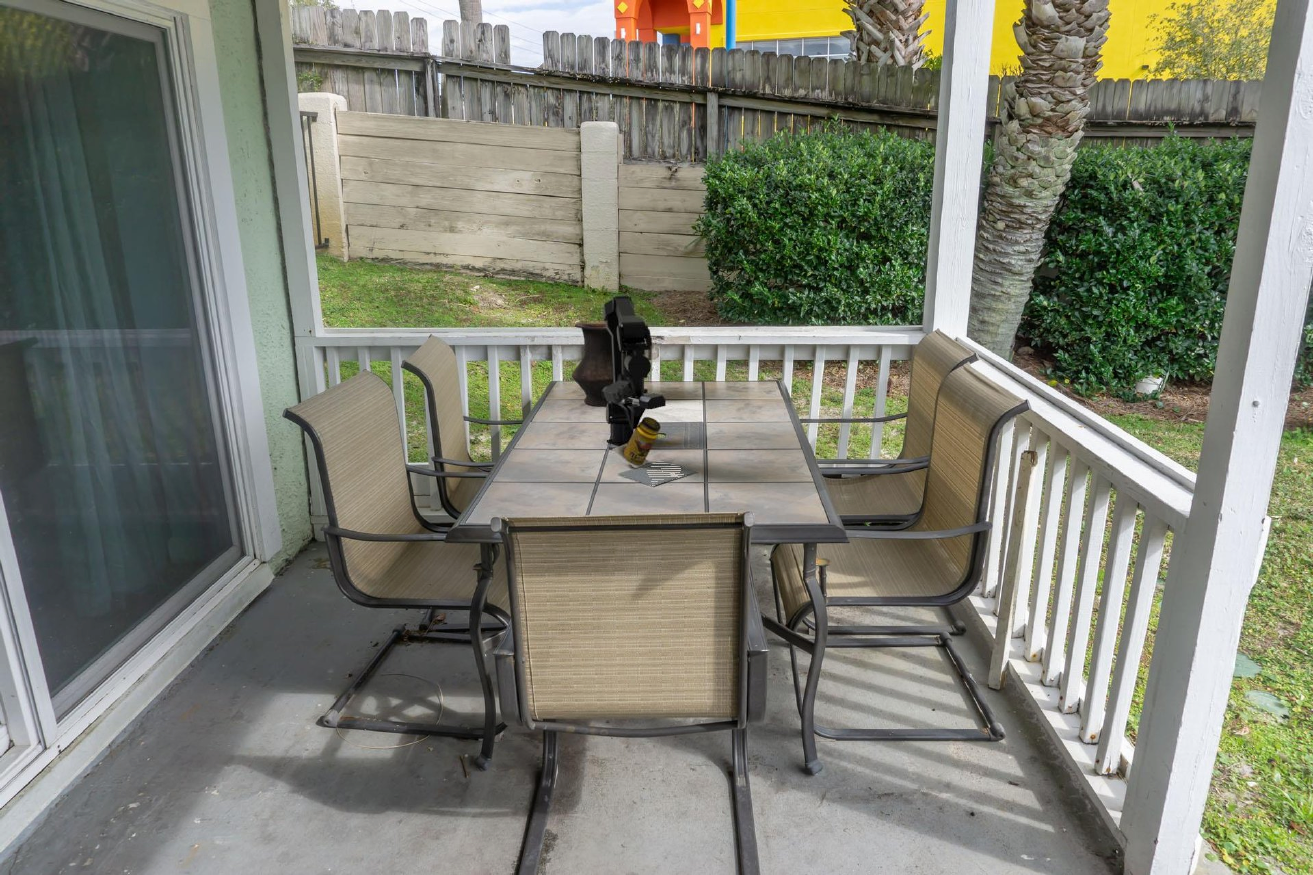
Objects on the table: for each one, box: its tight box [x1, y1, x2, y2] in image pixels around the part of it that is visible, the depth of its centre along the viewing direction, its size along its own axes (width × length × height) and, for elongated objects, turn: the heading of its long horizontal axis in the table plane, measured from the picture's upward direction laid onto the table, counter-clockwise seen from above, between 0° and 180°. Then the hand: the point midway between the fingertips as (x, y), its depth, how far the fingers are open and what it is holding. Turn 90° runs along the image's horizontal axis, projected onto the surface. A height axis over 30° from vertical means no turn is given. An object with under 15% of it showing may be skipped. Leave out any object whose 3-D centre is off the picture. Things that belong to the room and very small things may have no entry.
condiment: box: [611, 416, 661, 469], centre depth 234 cm, size 7×8×12 cm
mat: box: [617, 459, 698, 487], centre depth 230 cm, size 13×16×1 cm
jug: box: [571, 320, 614, 406], centre depth 296 cm, size 21×18×30 cm
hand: (633, 428), depth 233 cm, fingers closed
